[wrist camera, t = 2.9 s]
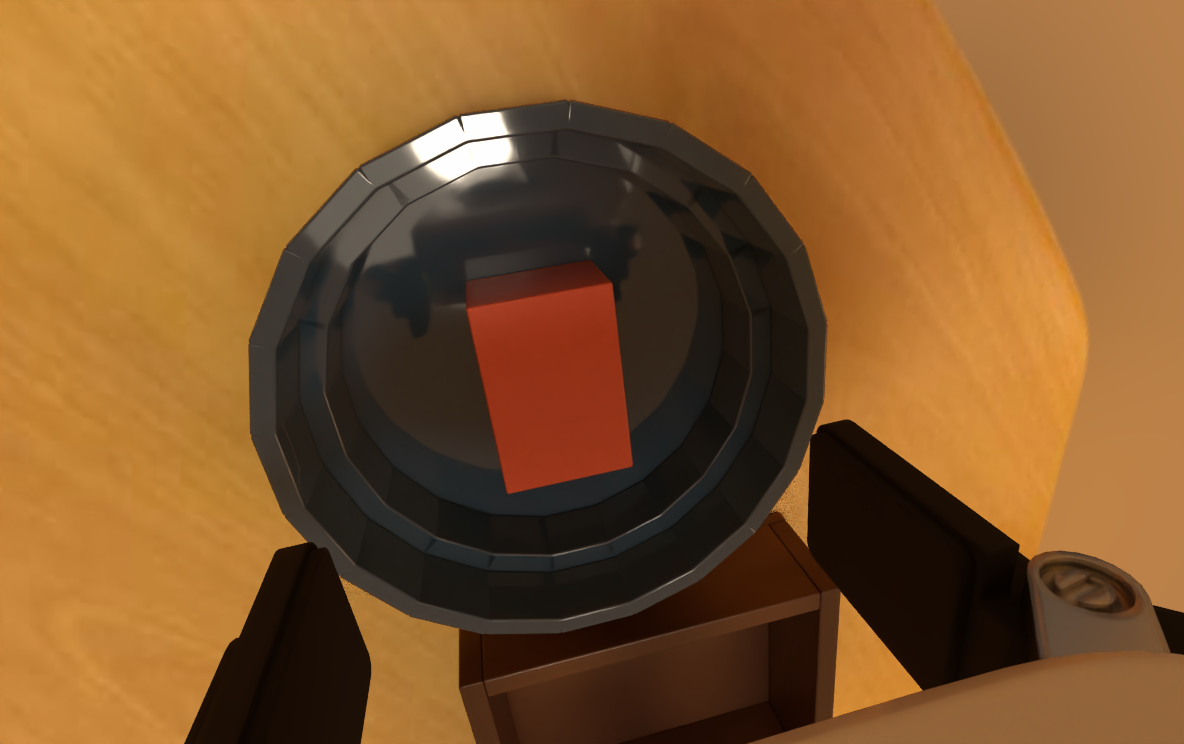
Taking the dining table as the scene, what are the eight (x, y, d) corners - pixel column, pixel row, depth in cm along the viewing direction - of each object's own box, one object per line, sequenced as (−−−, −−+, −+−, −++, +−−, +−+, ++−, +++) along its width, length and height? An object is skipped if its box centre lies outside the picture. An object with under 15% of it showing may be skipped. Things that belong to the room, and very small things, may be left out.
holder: (779, 511, 25) (842, 587, 21) (778, 697, 30) (828, 789, 26) (459, 587, 23) (458, 688, 19) (511, 772, 28) (519, 884, 24)
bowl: (746, 77, 18) (840, 62, 14) (752, 486, 24) (818, 568, 20) (224, 147, 16) (132, 157, 12) (375, 573, 22) (353, 687, 18)
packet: (591, 259, 19) (612, 282, 16) (611, 423, 21) (633, 467, 19) (464, 280, 18) (465, 308, 16) (501, 446, 21) (507, 495, 18)
